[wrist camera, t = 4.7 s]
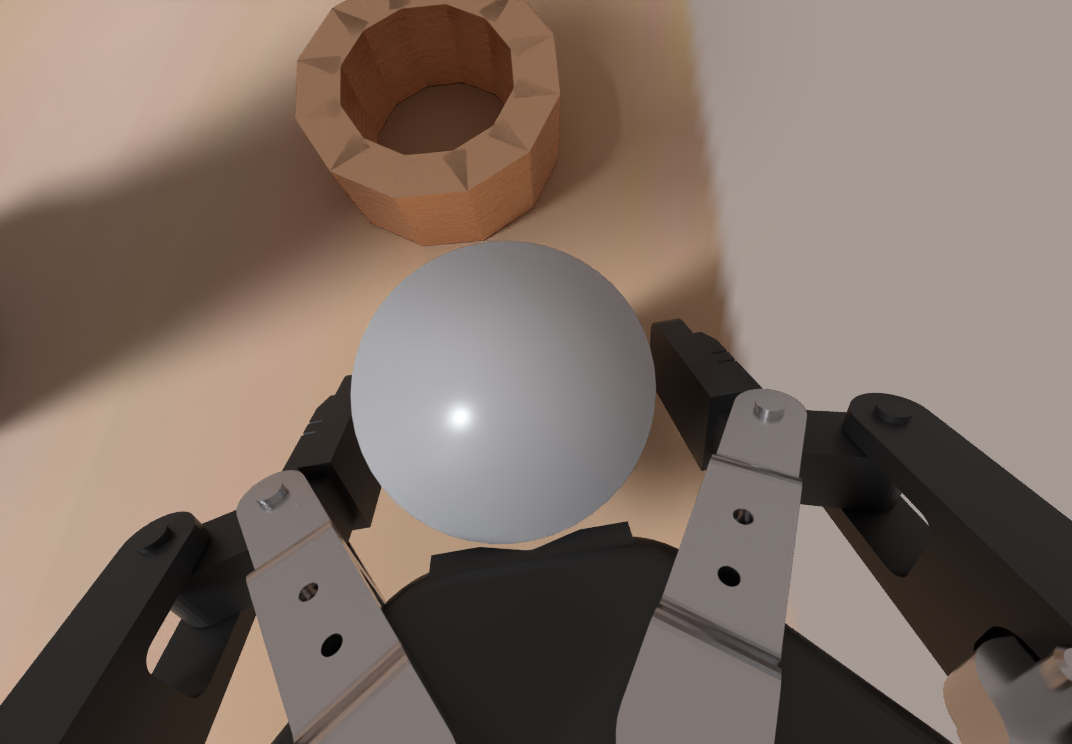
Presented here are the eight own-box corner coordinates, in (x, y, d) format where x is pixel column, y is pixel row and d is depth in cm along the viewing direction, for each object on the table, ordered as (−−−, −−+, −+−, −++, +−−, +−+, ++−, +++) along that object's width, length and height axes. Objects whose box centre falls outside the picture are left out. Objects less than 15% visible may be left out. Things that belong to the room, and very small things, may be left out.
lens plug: (448, 452, 16) (294, 455, 7) (502, 343, 17) (438, 199, 7) (561, 509, 16) (578, 605, 6) (612, 393, 17) (702, 310, 7)
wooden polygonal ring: (302, 193, 19) (246, 135, 15) (405, 27, 20) (376, -59, 17) (497, 278, 18) (484, 237, 14) (590, 96, 19) (600, 19, 16)
